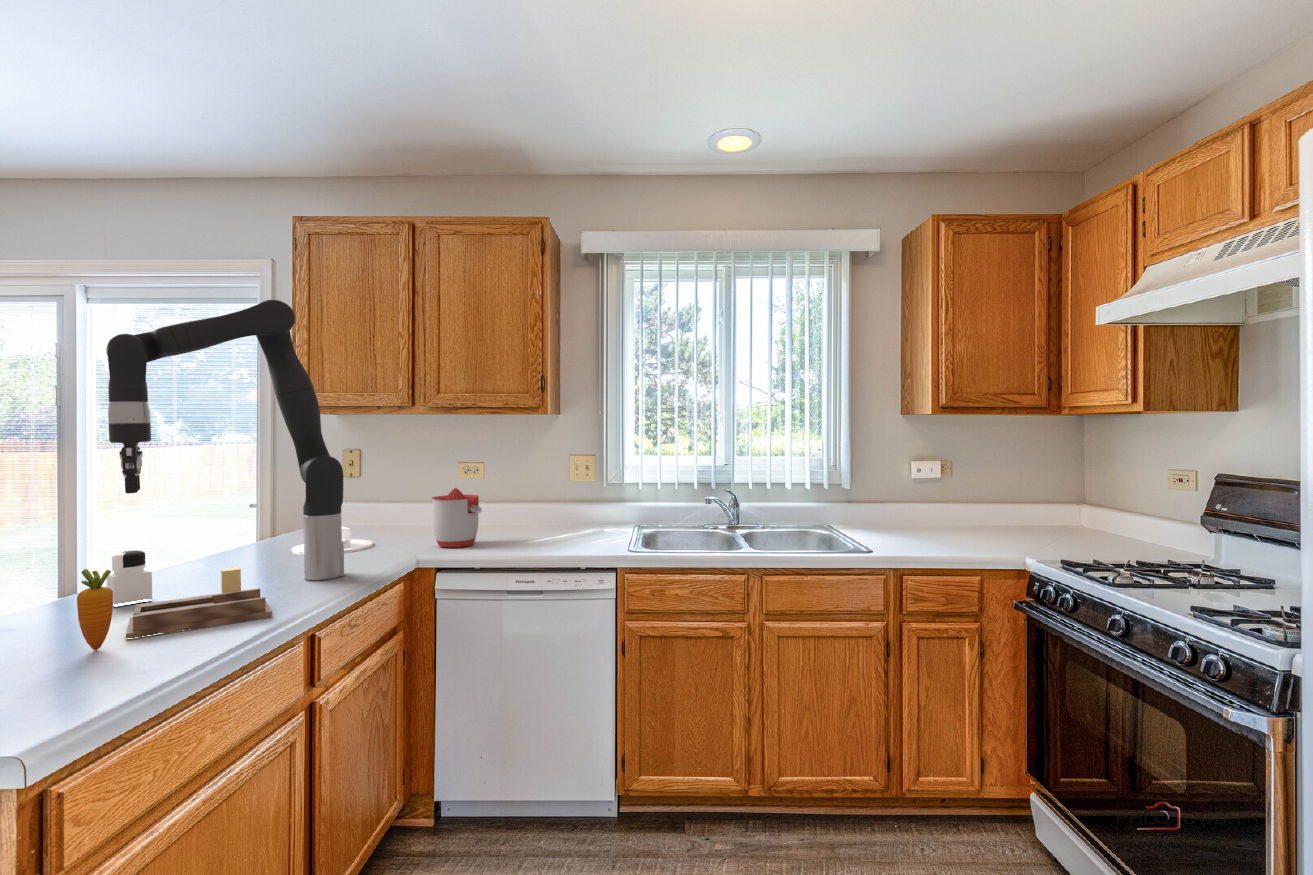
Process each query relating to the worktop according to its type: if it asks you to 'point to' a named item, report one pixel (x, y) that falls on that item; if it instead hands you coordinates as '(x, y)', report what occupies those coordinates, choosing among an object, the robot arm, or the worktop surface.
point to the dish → (349, 543)
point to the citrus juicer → (455, 519)
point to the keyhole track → (197, 612)
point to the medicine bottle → (129, 577)
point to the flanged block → (230, 580)
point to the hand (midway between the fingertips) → (133, 491)
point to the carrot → (95, 608)
